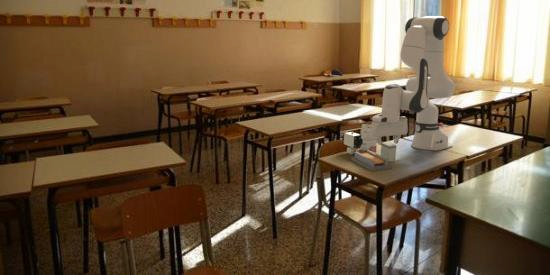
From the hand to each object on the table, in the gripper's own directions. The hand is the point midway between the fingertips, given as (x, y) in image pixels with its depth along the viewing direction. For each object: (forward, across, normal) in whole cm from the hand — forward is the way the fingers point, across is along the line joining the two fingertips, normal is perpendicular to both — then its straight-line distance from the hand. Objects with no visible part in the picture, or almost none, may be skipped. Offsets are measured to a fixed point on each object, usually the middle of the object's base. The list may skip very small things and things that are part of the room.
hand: (388, 144), depth 209 cm
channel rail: (+8, +12, +4) cm, 15 cm away
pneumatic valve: (+8, +11, -15) cm, 21 cm away
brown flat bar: (+6, +12, +4) cm, 14 cm away
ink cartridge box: (+8, -1, -18) cm, 20 cm away
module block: (+8, -1, 0) cm, 8 cm away
